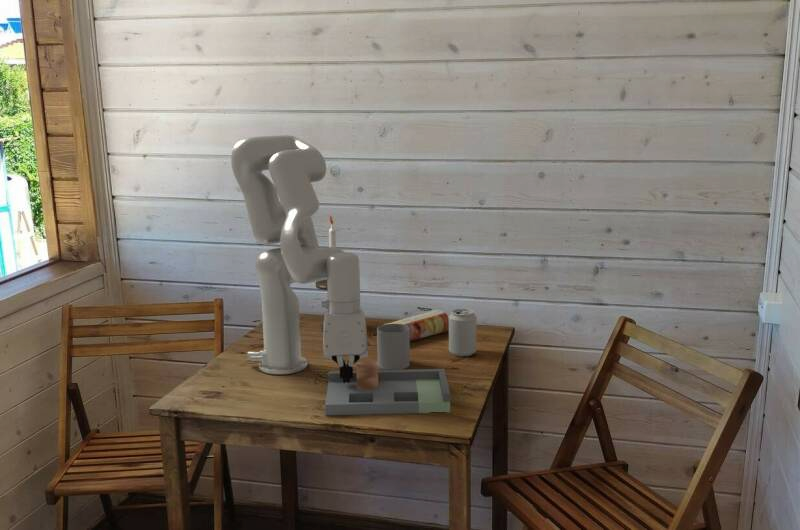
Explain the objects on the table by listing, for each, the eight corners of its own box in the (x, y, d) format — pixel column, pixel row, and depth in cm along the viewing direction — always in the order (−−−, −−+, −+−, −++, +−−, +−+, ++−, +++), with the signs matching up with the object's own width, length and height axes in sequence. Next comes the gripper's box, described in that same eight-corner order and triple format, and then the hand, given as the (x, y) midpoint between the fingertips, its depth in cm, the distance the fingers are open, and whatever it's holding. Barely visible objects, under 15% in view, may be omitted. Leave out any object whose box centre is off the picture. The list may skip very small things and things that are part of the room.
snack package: (393, 348, 227) (393, 325, 225) (379, 343, 232) (378, 320, 230) (449, 333, 240) (449, 311, 238) (435, 328, 245) (434, 307, 243)
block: (356, 389, 190) (356, 369, 189) (357, 381, 195) (357, 361, 194) (378, 388, 190) (377, 368, 189) (378, 381, 195) (377, 361, 194)
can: (459, 347, 227) (459, 305, 224) (481, 352, 222) (482, 310, 220) (443, 354, 221) (443, 311, 219) (465, 359, 217) (466, 316, 214)
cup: (406, 371, 209) (405, 333, 207) (374, 369, 210) (374, 332, 208) (412, 360, 217) (411, 324, 215) (382, 358, 218) (381, 322, 216)
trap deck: (325, 415, 182) (324, 396, 181) (329, 388, 197) (328, 371, 196) (450, 412, 182) (450, 393, 181) (444, 386, 198) (444, 368, 197)
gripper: (310, 311, 184) (313, 387, 188) (376, 309, 184) (378, 386, 188) (313, 302, 191) (316, 376, 195) (376, 301, 192) (378, 374, 196)
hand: (346, 380), depth 192 cm, fingers closed
